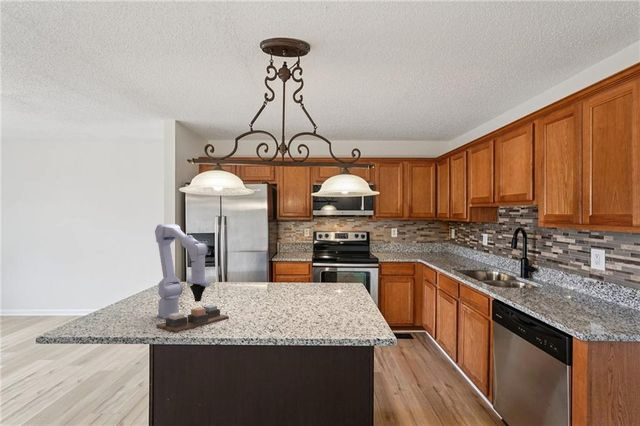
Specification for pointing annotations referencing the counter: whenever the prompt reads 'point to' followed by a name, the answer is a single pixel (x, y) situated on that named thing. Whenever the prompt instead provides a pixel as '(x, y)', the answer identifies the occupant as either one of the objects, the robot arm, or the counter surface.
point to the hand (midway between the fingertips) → (197, 301)
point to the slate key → (210, 307)
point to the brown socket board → (191, 321)
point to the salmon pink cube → (198, 311)
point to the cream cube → (176, 316)
